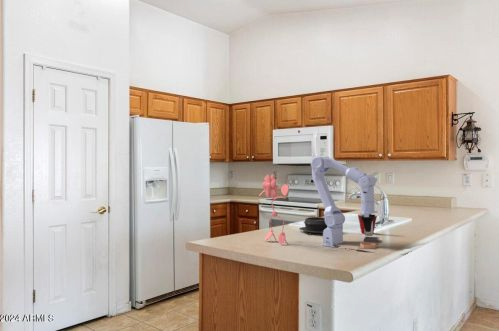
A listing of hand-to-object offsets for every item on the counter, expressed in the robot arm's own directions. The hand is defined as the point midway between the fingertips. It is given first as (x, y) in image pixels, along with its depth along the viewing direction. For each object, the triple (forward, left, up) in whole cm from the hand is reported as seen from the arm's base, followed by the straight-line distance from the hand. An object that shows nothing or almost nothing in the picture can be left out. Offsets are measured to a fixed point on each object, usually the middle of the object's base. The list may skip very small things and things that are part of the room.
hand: (368, 231), depth 174 cm
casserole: (+16, +47, -9) cm, 50 cm away
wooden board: (+4, +3, -8) cm, 10 cm away
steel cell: (0, 0, -2) cm, 2 cm away
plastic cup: (+28, +22, -8) cm, 37 cm away
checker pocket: (+11, +6, -7) cm, 14 cm away
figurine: (-25, +41, -8) cm, 48 cm away
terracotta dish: (-2, -1, -7) cm, 7 cm away
